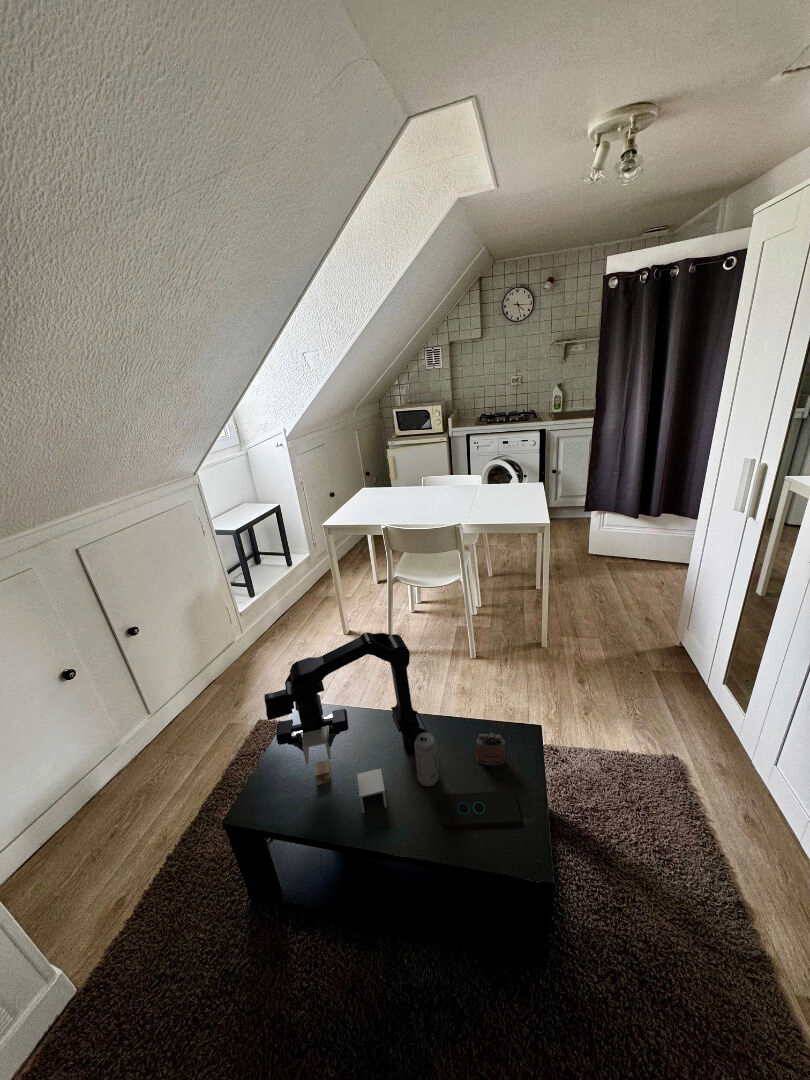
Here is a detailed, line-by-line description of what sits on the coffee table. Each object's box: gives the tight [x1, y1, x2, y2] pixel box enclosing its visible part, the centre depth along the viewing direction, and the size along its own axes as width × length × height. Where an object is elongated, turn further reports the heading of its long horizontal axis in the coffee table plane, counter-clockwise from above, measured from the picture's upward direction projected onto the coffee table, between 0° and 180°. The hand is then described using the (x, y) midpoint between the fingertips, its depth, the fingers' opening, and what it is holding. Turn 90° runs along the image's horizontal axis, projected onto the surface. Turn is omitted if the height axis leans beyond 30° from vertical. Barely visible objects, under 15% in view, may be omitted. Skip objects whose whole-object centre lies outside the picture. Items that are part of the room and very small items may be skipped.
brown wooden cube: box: [314, 759, 332, 786], centre depth 120 cm, size 4×4×4 cm
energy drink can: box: [414, 732, 440, 787], centre depth 115 cm, size 6×6×15 cm
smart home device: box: [439, 790, 522, 828], centre depth 109 cm, size 8×2×20 cm
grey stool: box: [356, 768, 388, 814], centre depth 113 cm, size 7×7×6 cm
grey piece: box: [302, 726, 332, 765], centre depth 116 cm, size 7×7×6 cm
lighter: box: [475, 732, 506, 766], centre depth 120 cm, size 8×3×10 cm, turn 84°
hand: (317, 748), depth 117 cm, fingers closed on grey piece, 7 cm apart
